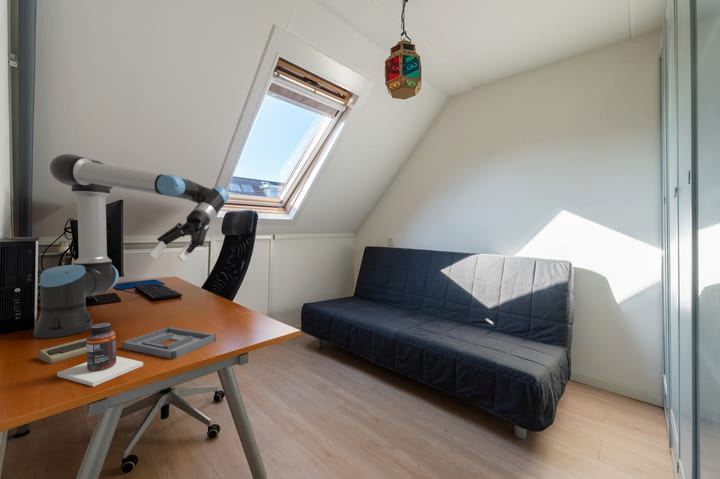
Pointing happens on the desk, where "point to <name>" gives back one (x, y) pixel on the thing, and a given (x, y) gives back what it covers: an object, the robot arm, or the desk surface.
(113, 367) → the white mat
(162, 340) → the grey rectangular frame tray
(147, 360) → the desk surface
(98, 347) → the supplement bottle
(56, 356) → the computer
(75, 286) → the robot arm
